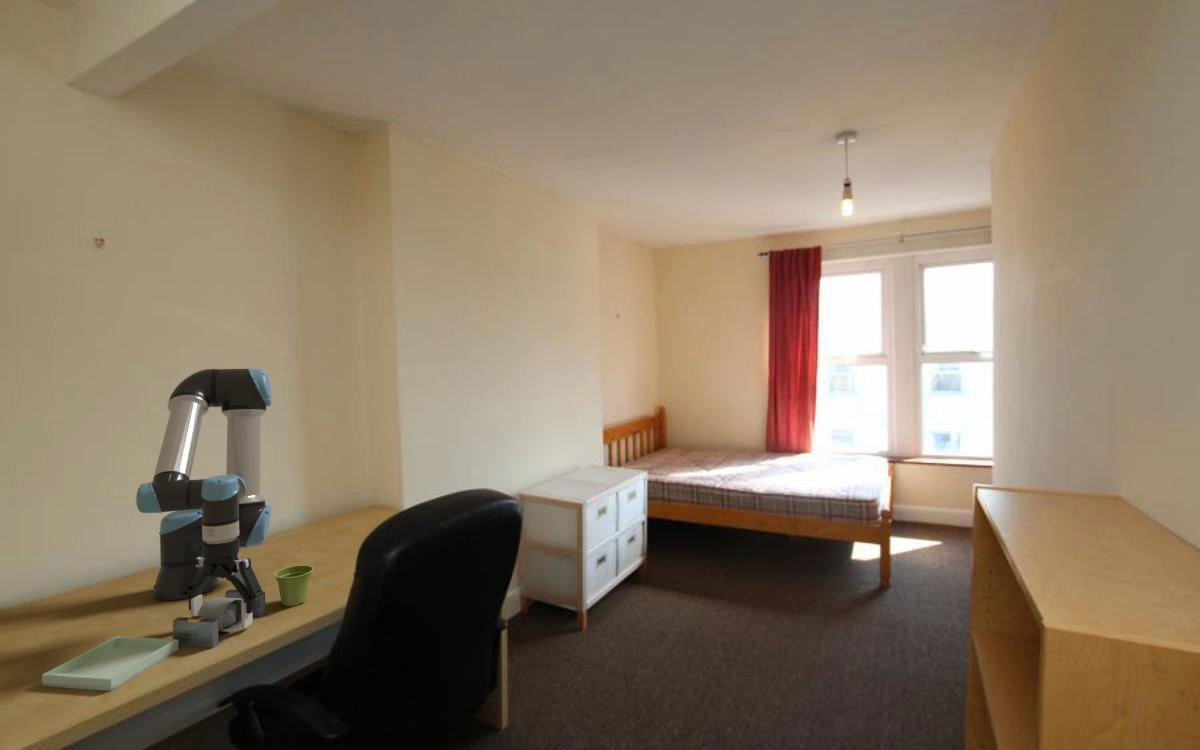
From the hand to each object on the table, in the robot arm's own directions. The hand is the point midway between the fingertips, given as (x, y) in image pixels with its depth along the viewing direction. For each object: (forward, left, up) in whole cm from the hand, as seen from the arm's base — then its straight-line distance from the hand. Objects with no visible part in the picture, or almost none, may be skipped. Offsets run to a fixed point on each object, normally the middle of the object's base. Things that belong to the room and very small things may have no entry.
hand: (222, 624), depth 135 cm
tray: (-10, -18, -1) cm, 21 cm away
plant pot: (+8, +16, -1) cm, 18 cm away
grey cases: (0, 0, -1) cm, 1 cm away
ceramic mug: (0, -1, -1) cm, 2 cm away
